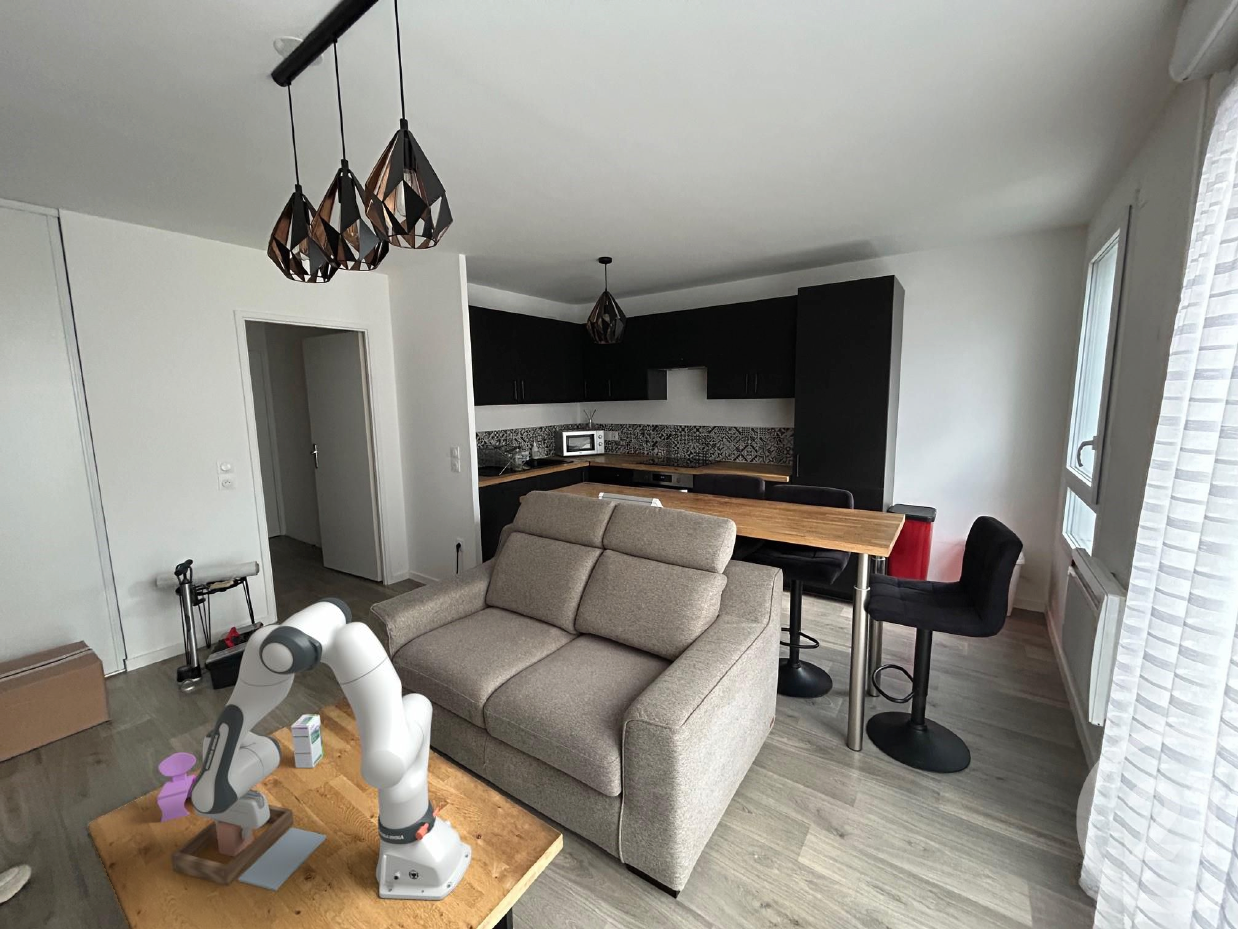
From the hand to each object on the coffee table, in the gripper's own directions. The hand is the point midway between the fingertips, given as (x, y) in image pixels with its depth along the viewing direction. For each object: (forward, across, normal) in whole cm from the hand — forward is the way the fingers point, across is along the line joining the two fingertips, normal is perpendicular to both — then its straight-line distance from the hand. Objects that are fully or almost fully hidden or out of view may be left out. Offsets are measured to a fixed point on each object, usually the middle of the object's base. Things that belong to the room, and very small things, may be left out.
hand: (235, 834), depth 130 cm
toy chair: (+4, +27, -6) cm, 28 cm away
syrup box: (+4, +7, -30) cm, 31 cm away
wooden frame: (+4, 0, 0) cm, 4 cm away
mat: (+4, -15, 0) cm, 15 cm away
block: (+4, 0, 0) cm, 4 cm away
